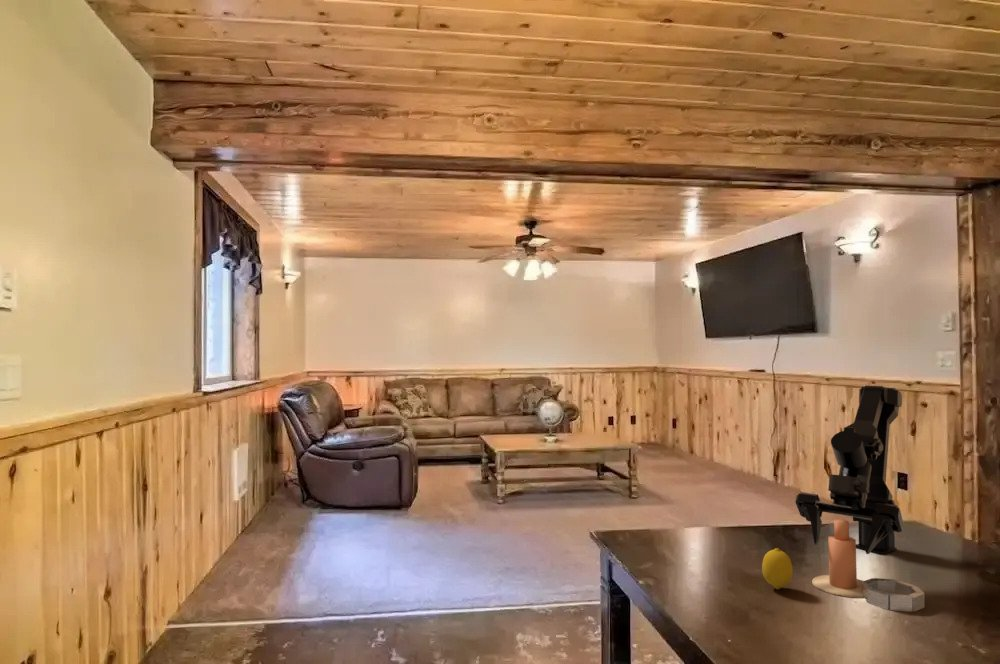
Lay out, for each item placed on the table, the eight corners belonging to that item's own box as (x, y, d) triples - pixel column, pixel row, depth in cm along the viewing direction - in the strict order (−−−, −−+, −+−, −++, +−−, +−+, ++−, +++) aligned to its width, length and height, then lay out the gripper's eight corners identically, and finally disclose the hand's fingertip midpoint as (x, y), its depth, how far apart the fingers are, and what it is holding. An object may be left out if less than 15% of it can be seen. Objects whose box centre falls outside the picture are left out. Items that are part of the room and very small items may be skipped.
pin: (823, 581, 131) (822, 519, 131) (843, 579, 133) (842, 517, 133) (842, 590, 127) (840, 525, 127) (862, 587, 128) (861, 523, 128)
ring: (853, 597, 124) (853, 584, 124) (881, 588, 129) (881, 575, 129) (905, 615, 116) (904, 601, 116) (932, 604, 121) (932, 590, 121)
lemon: (791, 585, 130) (790, 545, 130) (794, 596, 125) (793, 554, 125) (761, 582, 132) (761, 542, 132) (763, 592, 127) (762, 551, 127)
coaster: (800, 583, 131) (800, 581, 131) (833, 573, 137) (833, 571, 137) (853, 601, 122) (853, 599, 122) (886, 590, 128) (886, 588, 128)
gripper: (797, 454, 139) (781, 517, 130) (898, 464, 127) (888, 534, 118) (808, 485, 145) (794, 547, 136) (906, 497, 133) (897, 566, 124)
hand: (840, 548), depth 129 cm, fingers open, 9 cm apart
